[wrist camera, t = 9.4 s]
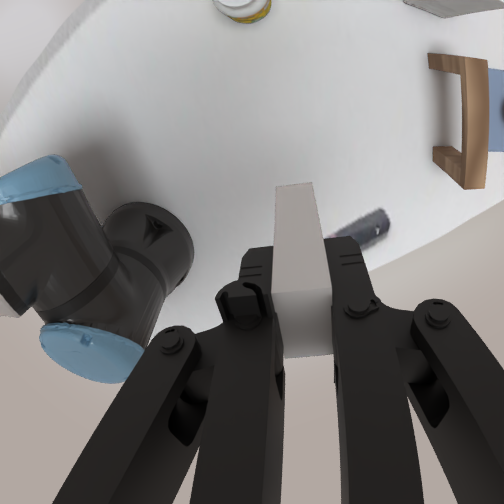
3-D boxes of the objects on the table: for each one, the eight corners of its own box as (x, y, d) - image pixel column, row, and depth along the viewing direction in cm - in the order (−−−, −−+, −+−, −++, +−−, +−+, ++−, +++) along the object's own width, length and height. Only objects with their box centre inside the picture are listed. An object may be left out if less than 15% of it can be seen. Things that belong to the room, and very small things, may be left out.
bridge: (432, 160, 36) (464, 189, 29) (427, 53, 28) (464, 56, 21) (451, 160, 36) (484, 188, 28) (447, 54, 28) (487, 60, 20)
